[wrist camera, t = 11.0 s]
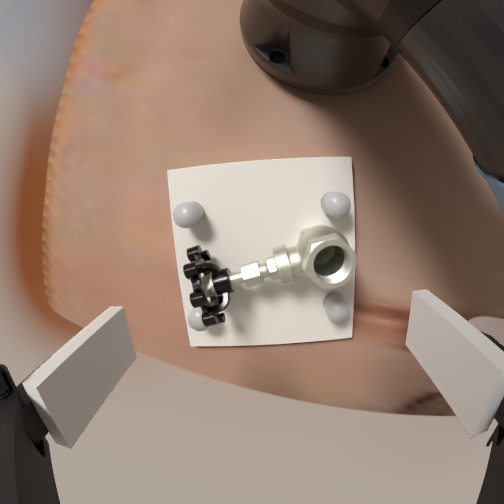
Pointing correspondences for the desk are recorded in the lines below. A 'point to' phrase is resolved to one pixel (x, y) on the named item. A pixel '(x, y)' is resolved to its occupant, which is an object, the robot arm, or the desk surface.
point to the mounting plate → (264, 244)
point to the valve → (271, 270)
